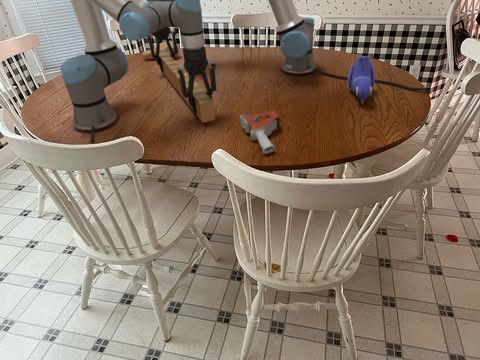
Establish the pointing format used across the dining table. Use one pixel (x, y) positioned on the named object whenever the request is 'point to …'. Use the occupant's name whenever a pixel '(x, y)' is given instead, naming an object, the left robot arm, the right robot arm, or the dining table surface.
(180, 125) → the dining table surface
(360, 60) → the toy
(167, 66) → the beam
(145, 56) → the squash
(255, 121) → the tape dispenser
